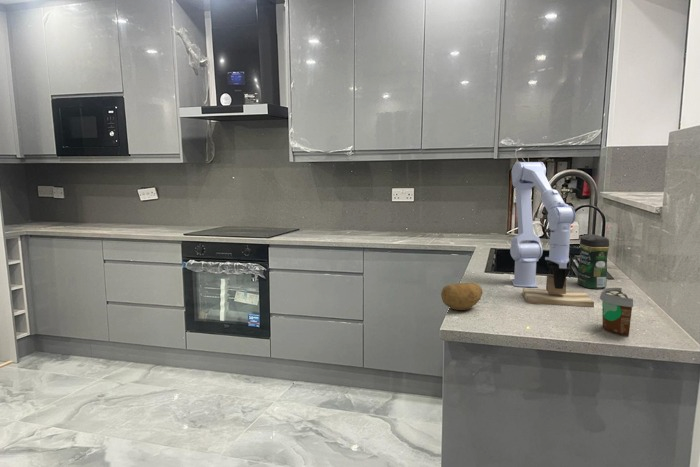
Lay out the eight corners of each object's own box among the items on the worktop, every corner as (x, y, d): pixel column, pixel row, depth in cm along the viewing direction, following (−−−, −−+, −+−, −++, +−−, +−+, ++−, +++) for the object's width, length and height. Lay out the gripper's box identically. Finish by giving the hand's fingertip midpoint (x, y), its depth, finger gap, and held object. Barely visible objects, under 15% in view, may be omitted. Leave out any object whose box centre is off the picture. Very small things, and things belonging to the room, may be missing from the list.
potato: (491, 309, 143) (492, 283, 142) (455, 316, 136) (456, 289, 135) (468, 301, 151) (469, 277, 150) (433, 308, 144) (433, 282, 143)
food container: (593, 321, 132) (595, 285, 131) (618, 323, 130) (621, 287, 129) (602, 335, 120) (605, 297, 119) (630, 338, 119) (633, 299, 117)
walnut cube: (546, 289, 156) (546, 274, 156) (562, 290, 155) (563, 275, 155) (548, 293, 152) (549, 277, 151) (565, 294, 150) (566, 278, 150)
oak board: (522, 292, 162) (522, 288, 162) (583, 296, 158) (583, 291, 158) (527, 303, 150) (527, 298, 149) (593, 307, 145) (594, 302, 145)
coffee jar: (573, 283, 175) (576, 233, 173) (593, 282, 176) (597, 232, 174) (588, 290, 166) (592, 237, 163) (610, 289, 167) (614, 236, 164)
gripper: (542, 240, 159) (540, 280, 161) (550, 247, 145) (547, 291, 147) (565, 241, 158) (562, 281, 159) (575, 248, 144) (572, 292, 145)
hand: (557, 286), depth 153 cm, fingers closed on walnut cube, 5 cm apart
